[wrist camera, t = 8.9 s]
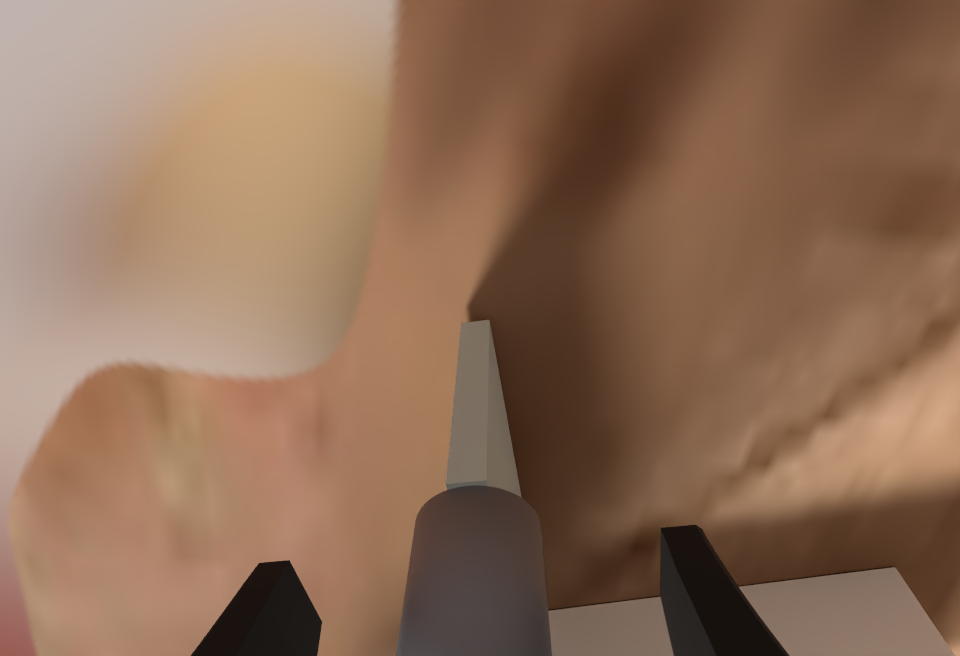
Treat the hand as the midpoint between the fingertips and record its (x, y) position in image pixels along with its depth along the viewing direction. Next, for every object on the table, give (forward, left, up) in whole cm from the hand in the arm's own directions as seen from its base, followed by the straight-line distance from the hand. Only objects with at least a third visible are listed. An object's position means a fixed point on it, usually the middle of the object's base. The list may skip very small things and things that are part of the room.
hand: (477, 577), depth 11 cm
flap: (0, -5, -7) cm, 9 cm away
